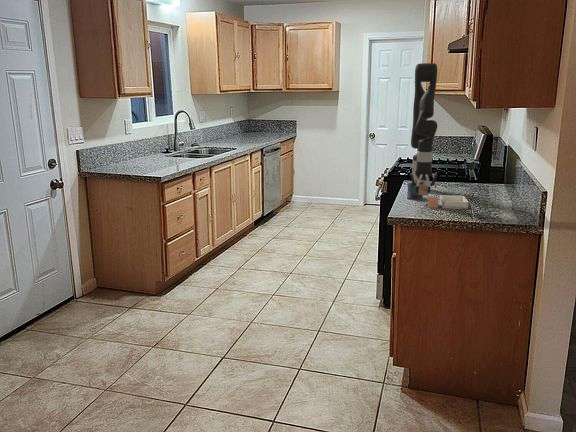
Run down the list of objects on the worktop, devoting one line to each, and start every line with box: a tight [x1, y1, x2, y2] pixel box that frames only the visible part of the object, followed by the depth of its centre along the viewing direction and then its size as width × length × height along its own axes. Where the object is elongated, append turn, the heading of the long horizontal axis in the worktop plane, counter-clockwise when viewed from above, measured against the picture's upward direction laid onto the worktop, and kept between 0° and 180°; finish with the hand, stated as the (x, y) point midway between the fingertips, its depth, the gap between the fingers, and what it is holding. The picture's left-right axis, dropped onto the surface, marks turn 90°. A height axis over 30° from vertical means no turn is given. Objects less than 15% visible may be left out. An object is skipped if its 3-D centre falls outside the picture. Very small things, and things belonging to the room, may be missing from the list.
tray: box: [438, 194, 469, 210], centre depth 253 cm, size 15×12×4 cm
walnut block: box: [418, 185, 429, 196], centre depth 257 cm, size 4×4×4 cm
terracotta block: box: [427, 196, 439, 209], centre depth 251 cm, size 4×4×4 cm
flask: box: [406, 178, 424, 200], centre depth 270 cm, size 9×3×11 cm, turn 109°
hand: (422, 193), depth 258 cm, fingers closed on walnut block, 4 cm apart
